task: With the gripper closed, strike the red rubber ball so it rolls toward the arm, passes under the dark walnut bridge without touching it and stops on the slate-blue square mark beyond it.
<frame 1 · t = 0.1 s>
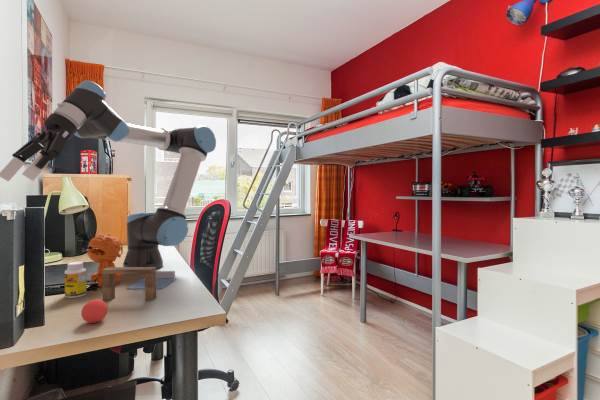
hand: (14, 177, 86), 36 cm above the table, tool tilted 35°, fingers open, 13 cm apart
supplement bottle: (76, 296, 99), on the table
ball: (94, 311, 79), on the table
bridge: (129, 298, 97), on the table
toy dinosaur: (105, 285, 111), on the table
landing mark: (152, 283, 112), on the table
stopper wall: (160, 278, 119), on the table
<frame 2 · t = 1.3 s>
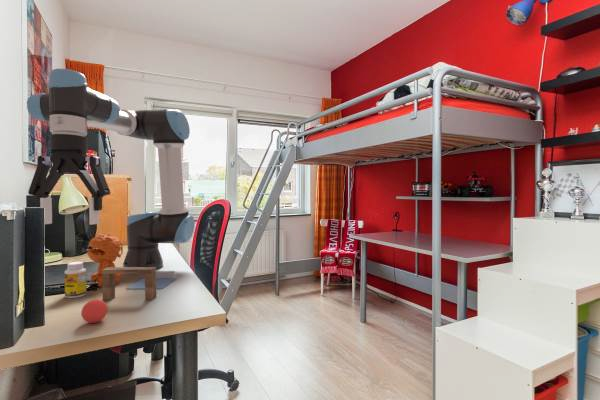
hand: (70, 224, 80), 24 cm above the table, tool pointing down, fingers open, 11 cm apart
nothing on the table moved.
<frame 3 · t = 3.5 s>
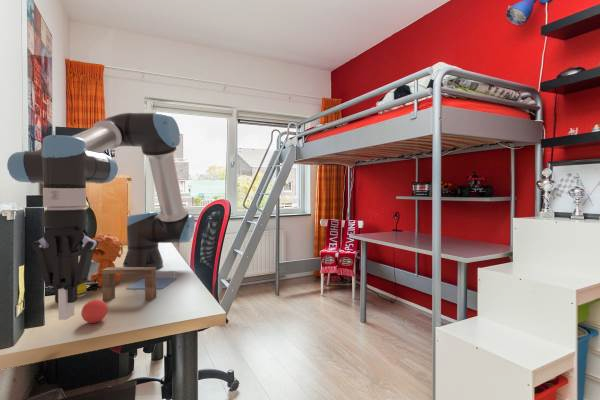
hand: (66, 317, 70), 5 cm above the table, tool pointing down, fingers closed
nothing on the table moved.
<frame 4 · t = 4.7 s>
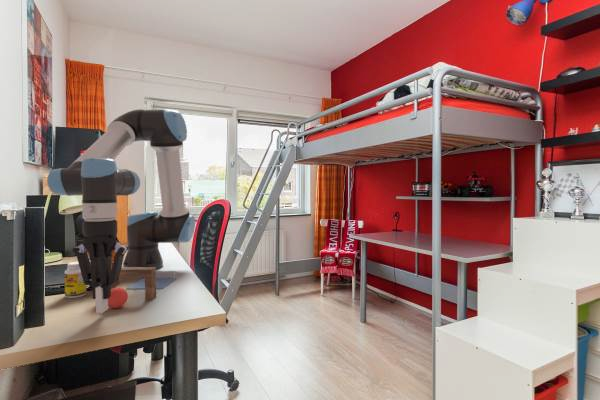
hand: (102, 311, 83), 2 cm above the table, tool pointing down, fingers closed
ball: (116, 297, 89), on the table
everything else where it was.
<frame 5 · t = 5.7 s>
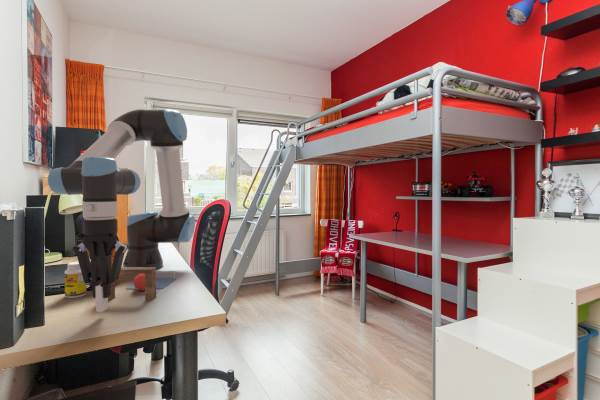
hand: (102, 309, 82), 2 cm above the table, tool pointing down, fingers closed
ball: (142, 281, 105), on the table
everything else where it was.
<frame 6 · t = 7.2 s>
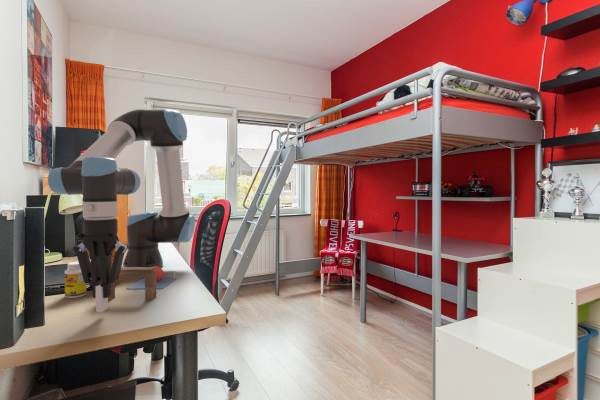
hand: (102, 309, 82), 2 cm above the table, tool pointing down, fingers closed
ball: (155, 274, 114), on the table
everything else where it was.
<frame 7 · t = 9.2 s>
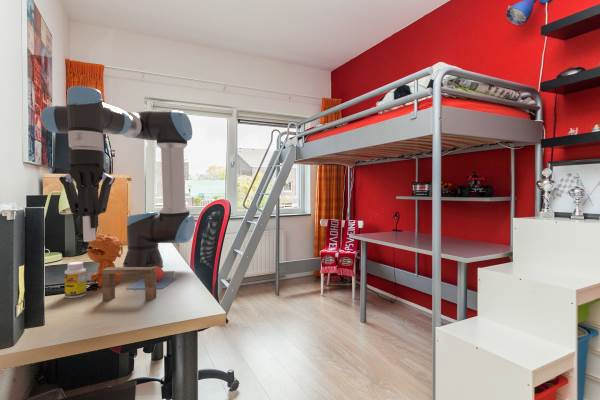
hand: (89, 240, 84), 19 cm above the table, tool pointing down, fingers closed
nothing on the table moved.
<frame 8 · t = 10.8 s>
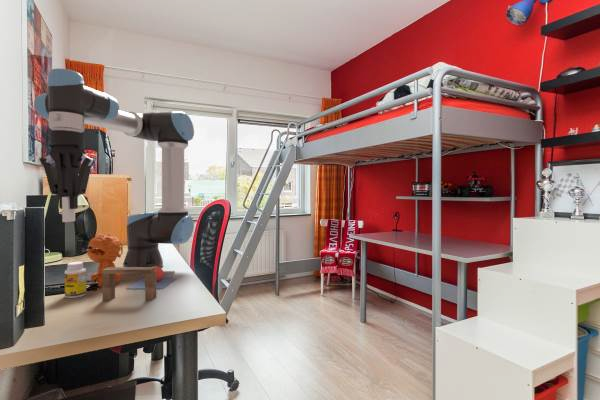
hand: (68, 221, 85), 24 cm above the table, tool pointing down, fingers closed
nothing on the table moved.
at the end: ball 2.5 cm from the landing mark (horizontally); ball never touched bridge; ball at rest at the end (0.0 cm/s) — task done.
